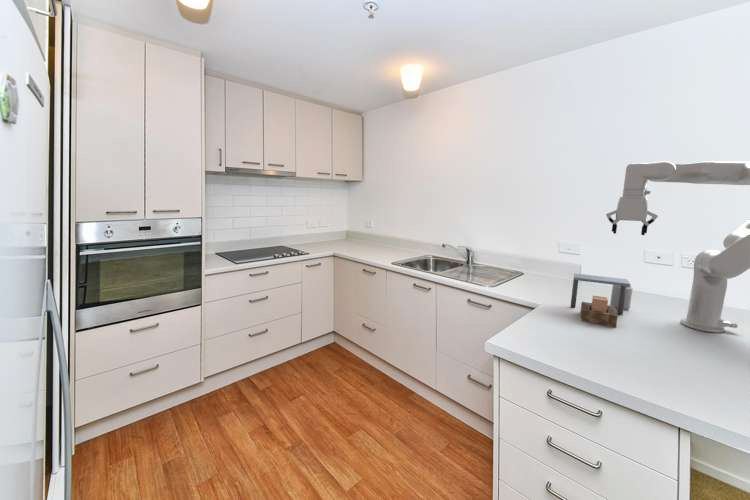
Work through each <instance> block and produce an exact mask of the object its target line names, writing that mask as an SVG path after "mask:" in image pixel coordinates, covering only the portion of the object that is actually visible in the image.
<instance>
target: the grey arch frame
mask: <svg viewBox="0 0 750 500" xmlns="http://www.w3.org/2000/svg"><path fill="white" fill-rule="evenodd" d="M579 281H581V282H587V283H596V284H602V285H603V284H604V285H612V286H613V285H620V286H621V288H620V296H619V303H618V309H616V312H617V315H618V316H623V315H624V310H623V308H624V301H625V294H626V287H627V286H628V287H630V284H631V283H630V281H629V280H628V279H627V278H619V277H611V276H602V275H601V276H600V275H592V274H582V273H576V272H575V273H573V280H572V289H571V290H572V292H571V300H570V305H569V306H570V308H571V309H575V308H576V306H577V297H578V296H577V295H578V288H579Z"/></svg>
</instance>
